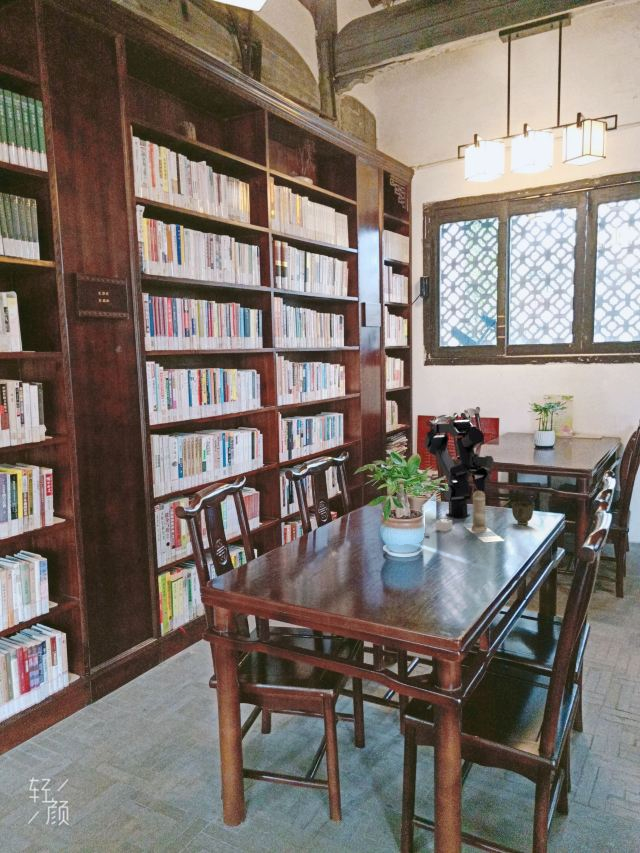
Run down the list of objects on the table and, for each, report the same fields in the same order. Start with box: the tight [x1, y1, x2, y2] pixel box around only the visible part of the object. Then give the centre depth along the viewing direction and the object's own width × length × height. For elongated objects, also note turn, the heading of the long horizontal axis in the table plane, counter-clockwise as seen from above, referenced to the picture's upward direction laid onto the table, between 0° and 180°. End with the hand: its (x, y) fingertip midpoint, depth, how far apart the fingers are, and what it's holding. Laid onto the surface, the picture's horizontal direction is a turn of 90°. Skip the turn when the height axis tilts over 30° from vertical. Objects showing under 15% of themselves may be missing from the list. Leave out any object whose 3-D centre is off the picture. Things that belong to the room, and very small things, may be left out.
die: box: [435, 518, 453, 532], centre depth 208 cm, size 4×4×4 cm
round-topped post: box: [472, 489, 488, 532], centre depth 205 cm, size 5×5×14 cm
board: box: [461, 522, 506, 543], centre depth 203 cm, size 22×7×1 cm, turn 5°
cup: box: [511, 500, 535, 527], centre depth 212 cm, size 8×7×8 cm
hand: (476, 495), depth 213 cm, fingers open, 9 cm apart
